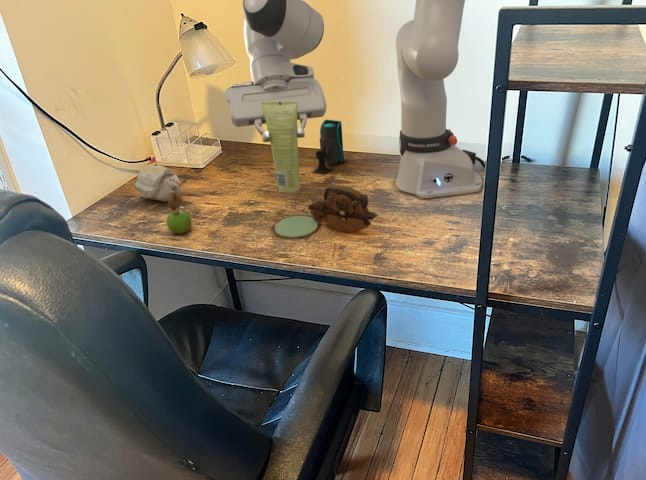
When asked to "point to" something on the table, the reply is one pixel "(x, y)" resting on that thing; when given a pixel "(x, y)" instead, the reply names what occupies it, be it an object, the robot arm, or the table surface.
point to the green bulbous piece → (177, 213)
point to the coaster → (296, 226)
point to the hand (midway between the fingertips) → (284, 138)
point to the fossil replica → (156, 182)
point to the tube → (283, 142)
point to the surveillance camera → (330, 145)
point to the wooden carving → (343, 209)
